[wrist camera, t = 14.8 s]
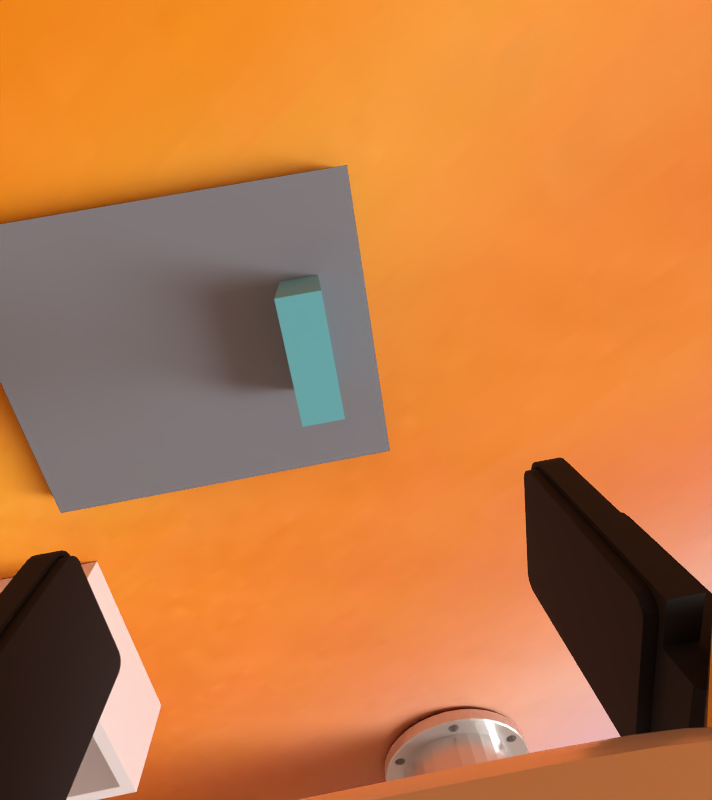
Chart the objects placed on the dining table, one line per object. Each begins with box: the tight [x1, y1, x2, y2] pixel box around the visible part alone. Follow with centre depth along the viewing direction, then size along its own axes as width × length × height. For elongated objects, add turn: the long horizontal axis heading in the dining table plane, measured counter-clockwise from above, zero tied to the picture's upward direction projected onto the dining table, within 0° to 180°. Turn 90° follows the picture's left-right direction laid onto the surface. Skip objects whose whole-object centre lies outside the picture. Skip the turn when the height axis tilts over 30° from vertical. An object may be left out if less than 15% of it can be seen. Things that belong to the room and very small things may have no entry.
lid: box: [0, 165, 390, 513], centre depth 25 cm, size 16×20×7 cm
